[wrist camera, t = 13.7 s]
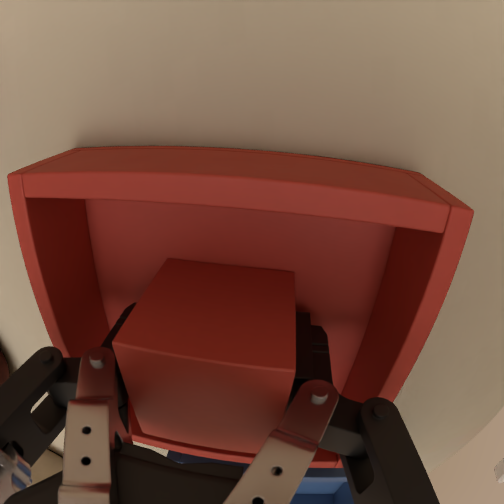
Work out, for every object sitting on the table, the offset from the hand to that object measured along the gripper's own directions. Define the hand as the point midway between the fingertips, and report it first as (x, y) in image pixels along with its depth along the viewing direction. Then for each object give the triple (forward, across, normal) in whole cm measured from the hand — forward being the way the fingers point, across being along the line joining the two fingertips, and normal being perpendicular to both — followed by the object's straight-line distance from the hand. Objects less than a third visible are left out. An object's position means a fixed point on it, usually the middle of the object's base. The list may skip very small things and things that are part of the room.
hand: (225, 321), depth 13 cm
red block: (0, 0, 0) cm, 0 cm away
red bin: (+1, 0, 0) cm, 1 cm away
